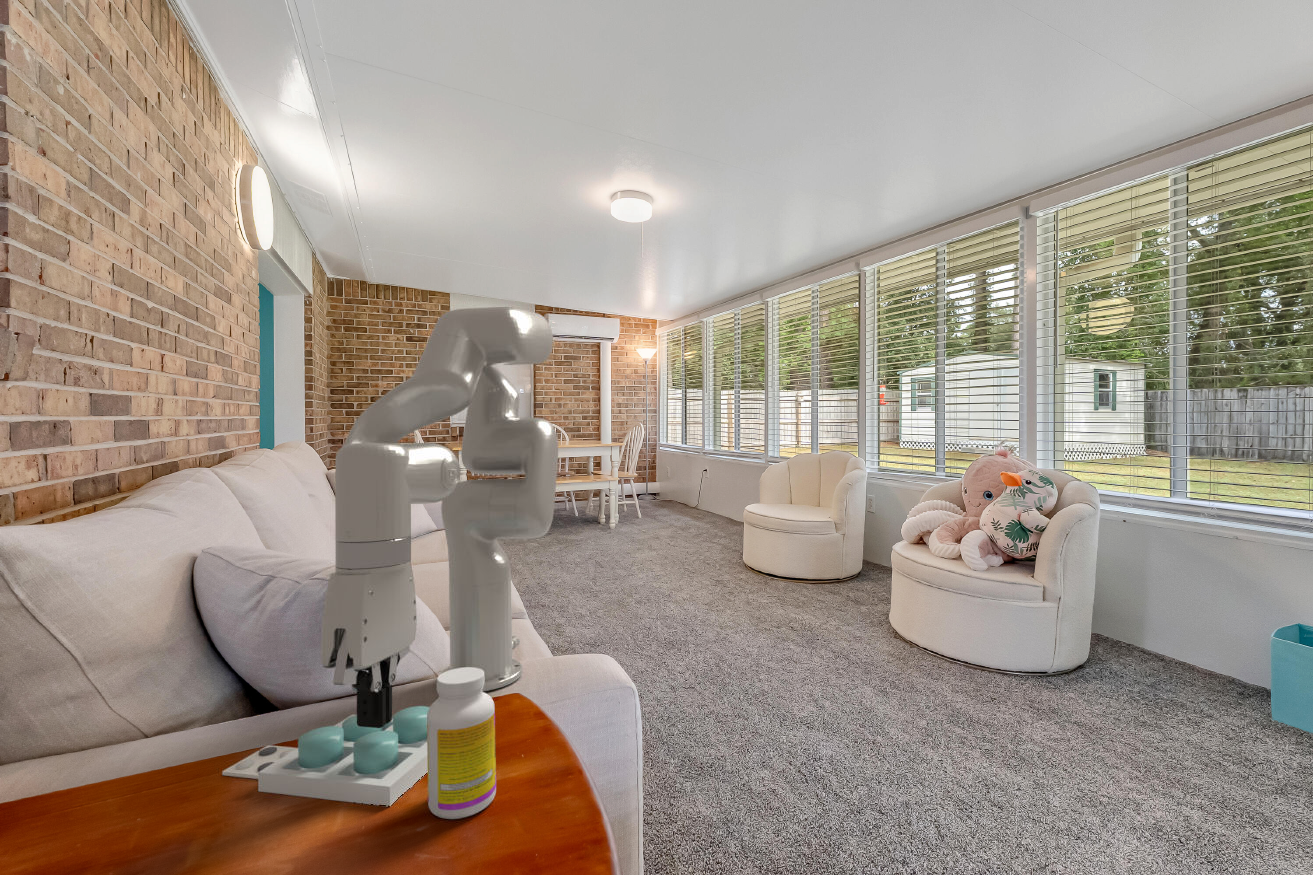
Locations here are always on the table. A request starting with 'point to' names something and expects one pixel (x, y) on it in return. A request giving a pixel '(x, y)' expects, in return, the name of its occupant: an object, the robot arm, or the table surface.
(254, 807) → the table surface
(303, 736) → the button
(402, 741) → the button
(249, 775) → the tile
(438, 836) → the table surface
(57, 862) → the table surface
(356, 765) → the button
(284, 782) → the board
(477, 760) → the supplement bottle
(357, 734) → the button
